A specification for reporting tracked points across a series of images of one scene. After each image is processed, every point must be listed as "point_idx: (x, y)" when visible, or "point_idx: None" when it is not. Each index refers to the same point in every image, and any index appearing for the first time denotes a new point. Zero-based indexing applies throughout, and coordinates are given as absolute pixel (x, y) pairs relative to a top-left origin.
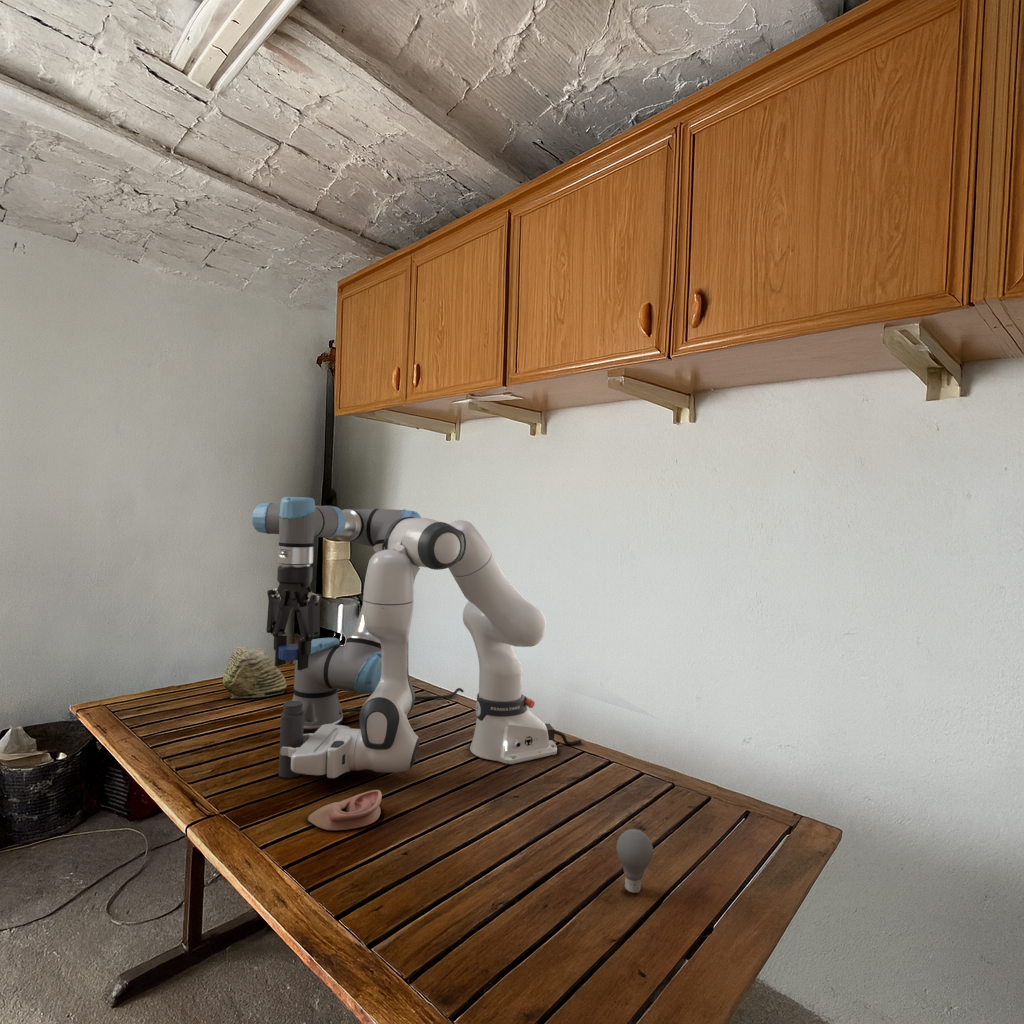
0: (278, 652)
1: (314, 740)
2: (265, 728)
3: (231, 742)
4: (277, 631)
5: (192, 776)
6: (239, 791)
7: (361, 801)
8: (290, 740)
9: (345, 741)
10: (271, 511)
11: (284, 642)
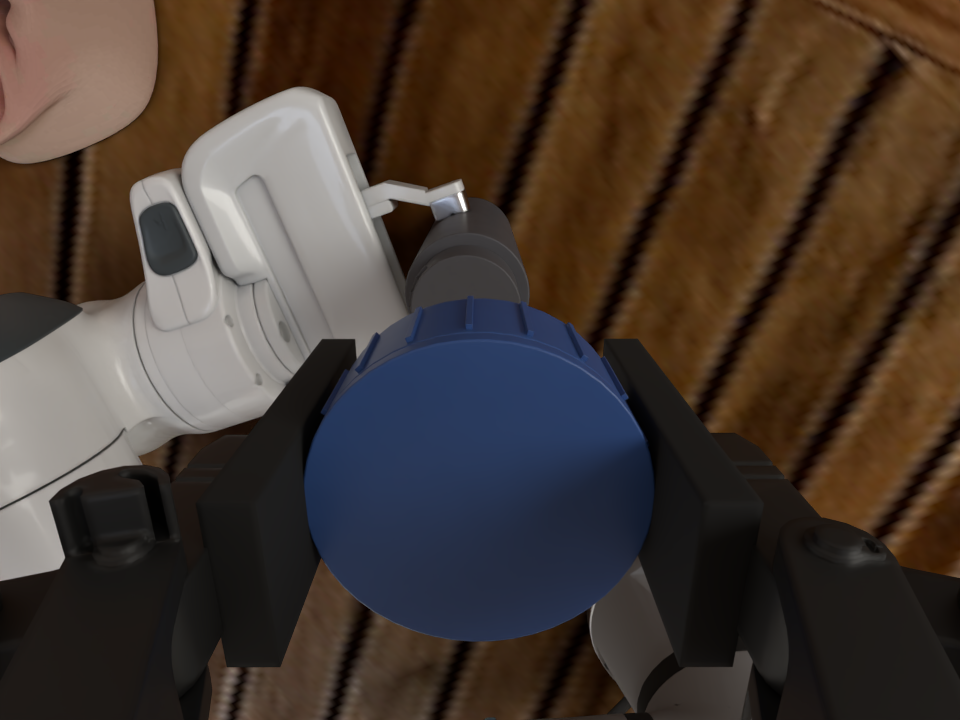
0: (614, 378)
1: (351, 283)
2: (817, 497)
3: (855, 349)
4: (797, 591)
5: (790, 36)
6: (530, 23)
7: (1, 98)
8: (438, 225)
9: (154, 280)
10: None
11: (655, 557)
